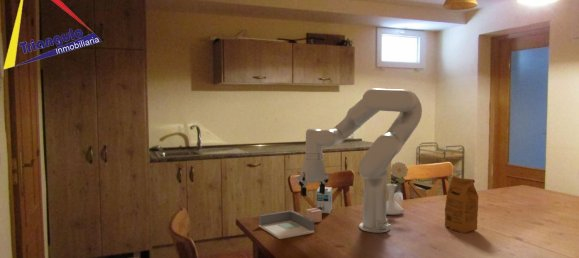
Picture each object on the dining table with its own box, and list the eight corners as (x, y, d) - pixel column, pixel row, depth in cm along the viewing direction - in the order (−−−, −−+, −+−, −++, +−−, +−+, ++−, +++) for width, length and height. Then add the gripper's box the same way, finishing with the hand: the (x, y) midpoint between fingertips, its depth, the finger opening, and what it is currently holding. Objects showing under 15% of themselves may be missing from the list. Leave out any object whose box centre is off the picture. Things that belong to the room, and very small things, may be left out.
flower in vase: (377, 215, 189) (377, 162, 188) (381, 209, 200) (381, 159, 198) (405, 218, 184) (406, 164, 183) (408, 212, 195) (409, 160, 193)
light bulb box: (330, 213, 192) (330, 191, 191) (316, 213, 193) (316, 190, 193) (332, 208, 202) (332, 186, 202) (318, 207, 204) (319, 186, 203)
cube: (321, 221, 180) (321, 210, 179) (312, 223, 177) (312, 211, 177) (315, 218, 184) (315, 207, 184) (306, 220, 182) (306, 209, 181)
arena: (314, 232, 164) (314, 220, 164) (279, 239, 156) (279, 226, 156) (291, 221, 180) (291, 210, 179) (259, 226, 172) (259, 215, 171)
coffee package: (459, 223, 177) (460, 173, 175) (481, 232, 165) (482, 178, 163) (440, 225, 173) (441, 175, 172) (461, 234, 162) (462, 180, 160)
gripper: (325, 154, 186) (324, 191, 188) (292, 156, 178) (291, 194, 179) (334, 156, 180) (333, 194, 181) (301, 158, 171) (300, 198, 173)
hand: (312, 194), depth 180 cm, fingers open, 9 cm apart
